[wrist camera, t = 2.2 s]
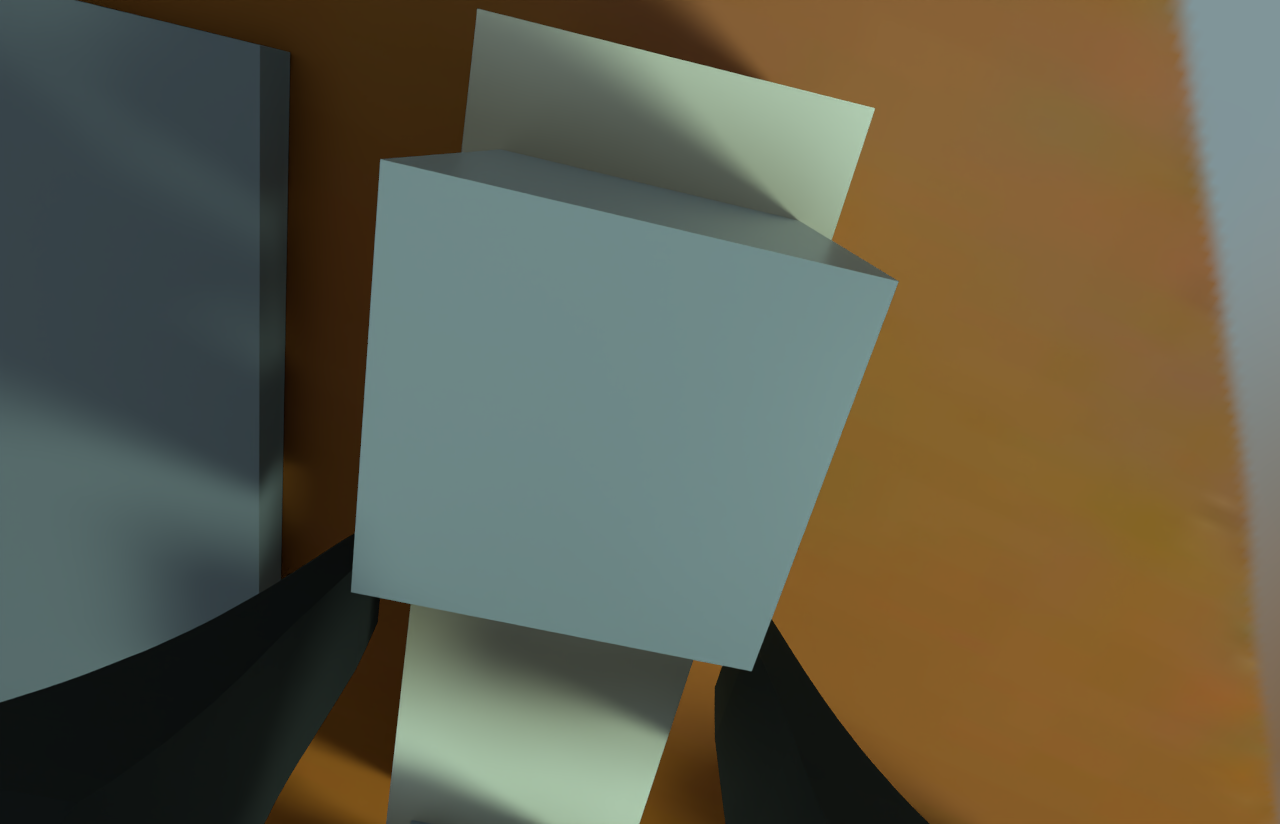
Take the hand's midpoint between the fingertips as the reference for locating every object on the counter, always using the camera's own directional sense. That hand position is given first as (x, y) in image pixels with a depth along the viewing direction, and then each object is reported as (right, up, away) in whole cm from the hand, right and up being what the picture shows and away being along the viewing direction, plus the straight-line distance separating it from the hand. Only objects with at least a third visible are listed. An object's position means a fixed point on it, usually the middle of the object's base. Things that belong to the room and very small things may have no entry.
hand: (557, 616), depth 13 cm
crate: (+1, +5, -4) cm, 7 cm away
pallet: (0, +1, +3) cm, 3 cm away
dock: (-12, +3, +3) cm, 12 cm away
